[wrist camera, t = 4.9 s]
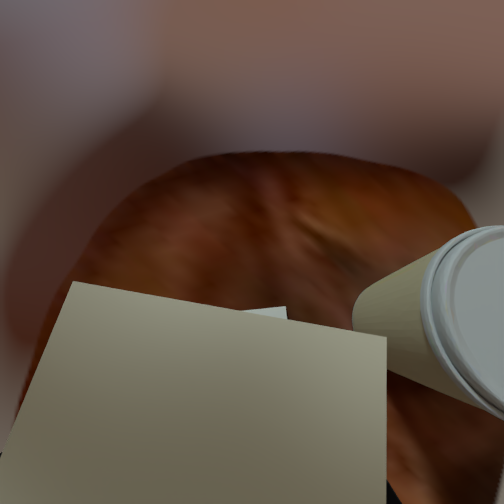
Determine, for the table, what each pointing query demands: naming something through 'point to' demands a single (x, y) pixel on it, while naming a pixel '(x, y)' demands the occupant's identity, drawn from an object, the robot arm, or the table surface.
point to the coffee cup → (445, 319)
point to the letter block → (197, 408)
